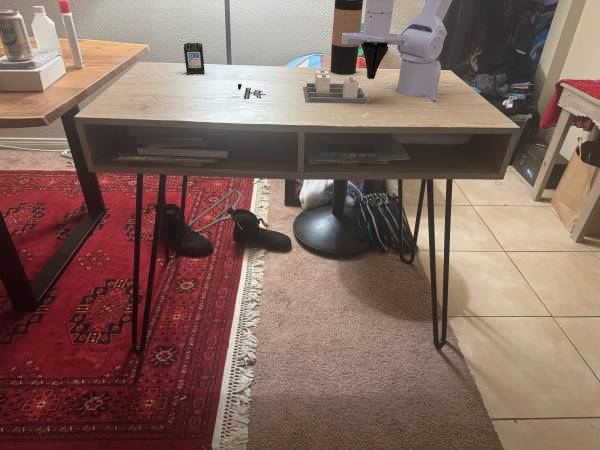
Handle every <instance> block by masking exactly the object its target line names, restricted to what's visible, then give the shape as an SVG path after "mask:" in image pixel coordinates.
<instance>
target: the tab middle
mask: <svg viewBox="0 0 600 450" xmlns="http://www.w3.org/2000/svg"><path fill="white" fill-rule="evenodd" d="M330 84H331V76H330V74H329V75H326V74H325V72H322V74H321V75H317V81H316V92H326V93H329V92H330Z"/></svg>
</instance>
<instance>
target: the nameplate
mask: <svg viewBox="0 0 600 450" xmlns="http://www.w3.org/2000/svg"><path fill="white" fill-rule="evenodd" d="M242 86H243V84H242V83H237V90H241V89H242ZM263 92H264V91H263V90H259V89H254V91H253V92H252V87H246V88H245V91H244V94H243V95H244V96H243V100H249V99H250V96H251V95H253V96H255V97H256V98H257V99H262V96H266V95H267V94H266V93H263Z"/></svg>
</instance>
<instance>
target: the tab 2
mask: <svg viewBox="0 0 600 450" xmlns="http://www.w3.org/2000/svg"><path fill="white" fill-rule="evenodd" d="M342 84H343V95H342V97H343V98H357V93H358V88H359V81H358V80H357V79H354V78H353V77H348V79H343V83H342Z"/></svg>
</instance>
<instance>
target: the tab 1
mask: <svg viewBox="0 0 600 450" xmlns="http://www.w3.org/2000/svg"><path fill="white" fill-rule="evenodd" d="M319 69H320V70H315V76H314V77H315V78H314V83H315V88H316V81H317V75H321V74H322V72H325V74H326V75H329V76H330V74H329V70H325V68H323V67H321V68H319Z"/></svg>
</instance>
